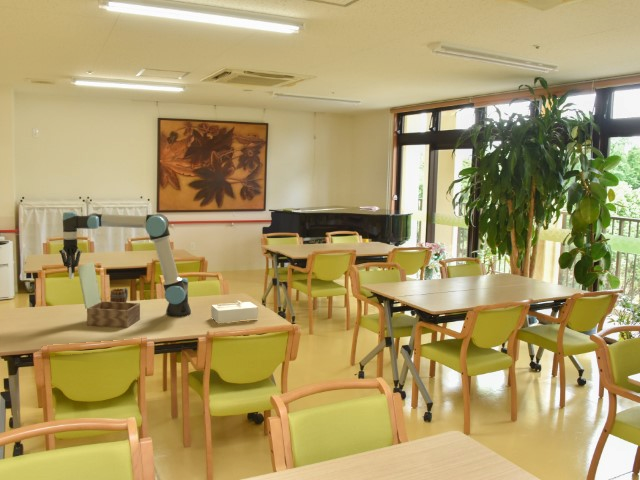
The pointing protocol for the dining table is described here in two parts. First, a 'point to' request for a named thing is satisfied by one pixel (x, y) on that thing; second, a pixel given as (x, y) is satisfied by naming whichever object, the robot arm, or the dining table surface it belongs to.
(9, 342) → the dining table surface
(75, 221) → the robot arm
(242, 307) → the tissue box
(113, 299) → the mug
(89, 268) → the lid
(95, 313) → the box
